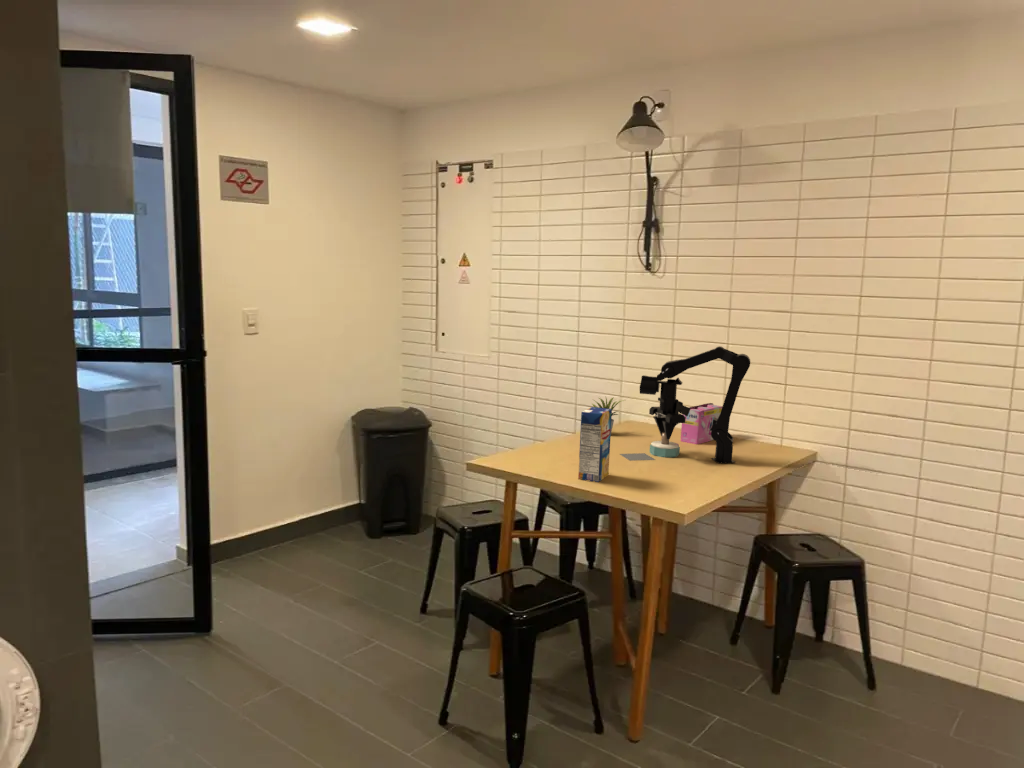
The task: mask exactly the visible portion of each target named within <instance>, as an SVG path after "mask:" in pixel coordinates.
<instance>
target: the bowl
mask: <svg viewBox="0 0 1024 768" xmlns="http://www.w3.org/2000/svg"><path fill="white" fill-rule="evenodd" d="M680 448H681V446H679V448H676V449H661V448H656V447H653V446H651V444H650V445H649V453H650V455H652V456H654V457H659V458H677V457H678V456H679V455H680V450H681V449H680Z"/></svg>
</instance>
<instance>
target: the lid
mask: <svg viewBox="0 0 1024 768" xmlns="http://www.w3.org/2000/svg"><path fill="white" fill-rule="evenodd" d="M650 445H651V446H653V447H656V448H661V449H676V448H679V447H680V444H679V443H678V442H674V441H670V439H667V438H666V434H665V432H663V433H662V436H661V440H654V441H651V444H650Z"/></svg>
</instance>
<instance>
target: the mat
mask: <svg viewBox="0 0 1024 768" xmlns="http://www.w3.org/2000/svg"><path fill="white" fill-rule="evenodd" d="M619 455H620V456H621V457H623V458H625V460H626V459H627V460H628V461H630V462H631V461H632V462H633V461H656V459H655V458H653V456H650V455H649V454H647V453H646V452H645V453H644V452H643V453H642V452H641V453H640V452H639V453H637V452H636V453H619Z"/></svg>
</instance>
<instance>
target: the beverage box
mask: <svg viewBox="0 0 1024 768" xmlns="http://www.w3.org/2000/svg"><path fill="white" fill-rule="evenodd" d="M597 407H598V406H597ZM597 407H594V406H591V407H588V408H587V409H585V410H583V411H581V414H580V415H581V416H580V430H579V431H580V435H579V436H580V437H579V453H578V478H577V480H579V479H583V480H582V481H586V480H590V481H589V482H593V481H595V483H600V482H601V481H602V480H604V479H605V478H606V477H608V476H609V473H610V455H611V453H610V452H611V451H610V450H611V435H612V432H611V419H613V418H612V417H613V416H612V413H613V410H612V409H611V408H609V409H606V408H600V407H598V408H597ZM604 477H605V478H604ZM599 481H600V482H599Z"/></svg>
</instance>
